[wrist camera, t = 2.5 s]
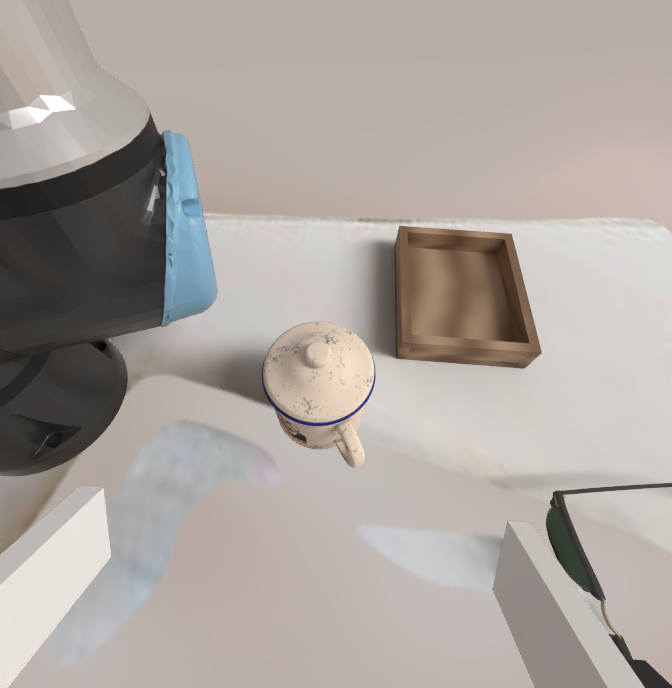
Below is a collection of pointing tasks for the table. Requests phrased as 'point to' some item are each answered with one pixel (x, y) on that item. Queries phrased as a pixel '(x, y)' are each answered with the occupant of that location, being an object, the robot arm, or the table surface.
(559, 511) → the black eyeglasses
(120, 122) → the robot arm
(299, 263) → the table surface
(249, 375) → the table surface
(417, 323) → the walnut tray
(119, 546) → the table surface
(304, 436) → the teacup with lid
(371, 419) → the table surface
